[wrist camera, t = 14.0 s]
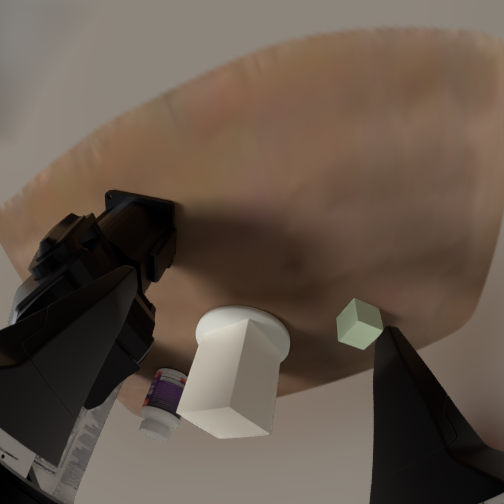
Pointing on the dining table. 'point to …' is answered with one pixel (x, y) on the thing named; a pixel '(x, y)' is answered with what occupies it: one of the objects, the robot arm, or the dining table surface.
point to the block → (359, 324)
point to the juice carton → (74, 453)
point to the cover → (232, 383)
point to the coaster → (238, 313)
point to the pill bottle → (162, 404)
